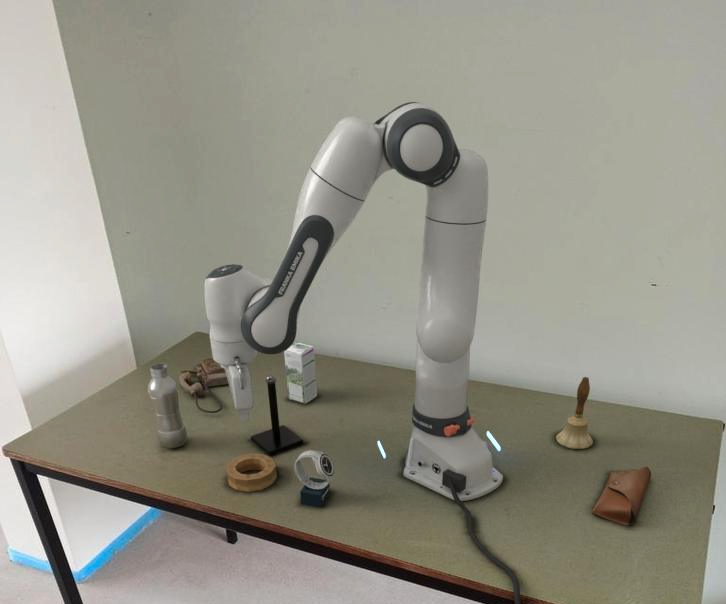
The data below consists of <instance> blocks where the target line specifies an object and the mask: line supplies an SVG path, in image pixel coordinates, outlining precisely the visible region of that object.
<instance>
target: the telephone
mask: <svg viewBox="0 0 726 604" xmlns="http://www.w3.org/2000/svg"><path fill="white" fill-rule="evenodd" d="M195 366H196V369H187V368H186V369H184V370H180V375H179V378H178V380H179V383H180V386H181V387H182V388H183V389H184V390H185V391H186V392H187V393H190V395H192V396H193V397H194V399H195V406H196V408H197V409H198V410H200V411H201V412H203V413H207V414H216V413H219V412H221V411H222V409H223V404H222V402H221V401H220V400H219V399H218V397H216V395H215V394H214V393H213V392H212V391H211V389H210V388H209V387H216V386H224V385H229V383H228V379H227V376H226V372H225V369H224V368H222V367H221V366H220V363H217V362H216V361H214V360H213V357H212V358H211V357H210V358H206V359H204V360H203V359H202V360H201V361H200V363H197V364H196V365H195ZM191 375H196V376H197V378H198V379H199V380H200V381H201V383H200V382H199V381H198V382H195V383H193V384H192V376H191ZM205 390H207V391H208V393H209V394H210V395H211V396H212V397H213V398H214V400H215V401H216V402H217V403H218V404H219V406H220V407H219V408H218V409H217V410H206V409H204V408H201V406H200V405H199V400H198V397H201V396H203V395H204V392H205Z"/></svg>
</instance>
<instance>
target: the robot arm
mask: <svg viewBox="0 0 726 604" xmlns="http://www.w3.org/2000/svg"><path fill="white" fill-rule="evenodd" d="M392 170H394V171H396V172H397V173H398V174H399V175H400V176H402V177H404V178H406V179H407V180H410V181H413V182H416V183H419V184H421V185H425V188H426V189H425V190H426V206H425V215H424V228H423V239H422V240H423V241H422V252H421V264H420V266H421V267H420V278H419V288H418V289H419V290H418V303H417V312H416V313H417V316H416V325H415V331H416V332H415V334H416V355H415V373H414V374H415V376H414V380H415V381H414V402H413V404H412V409H411V422H412V425H413V426H412V430H411V435H410V439H409V444H408V451H407V454H406V457H405V463H404V464H405V466H404V469H403V474H402V476H403V477H405V478H406V479H408V480H411V481H413V482H415V483H416V484H419V485H421V486H423V487H425V488H427V489H430V490H432V491H433V492H435V493H438V494H440V495H442V496H444V497H446V498H449V499H450V500H452V501H454V502H455V503H456V504H457V506H458V507H459V508H460V509H461V510H462V511H463V512H464V514H465V515H466V518H467V522H468V525H467V526H468V528H467V530H468V533H469V535H470V538H471V540H472V541H473V543H474V544H475V545H476V547H477V548H478V549H479V550H480V551H481V553H483V555H485V556H486V557H487V559H489V561H491V562H492V563H494V565H496V567H497V566H498V568H500V569H502V571H504V572H505V573H506V574H507V575H508V576H509V578H510V579H511V582H512V584H513V599H514V604H521V603H522V601H521V587H520V581H519V579H518V577H517V575H516V574H515V573H514V571H513V570H512V569H511V568H510V567H509V566H508V565H507V564H505V563H504V562H503V561H501V560H500V559H498V558H497V557H496V556H495V555H493V553H492V552H490V551H489V550H488V548H487V547H486V546H485V545H484V544H483V543H482V542H481V541H480V539H479V538H478V536H477V535H476V532H475V529H474V517H473V515H472V513H471V511H470V510H469V508H467V506H466V505H465V504H464V503H463V502H464V501H465V502H466V501H470V500H475V499H478V498H481V497H483V496H486V495H487V494H489V493H491V492H493V491H494V490H497V488H499V487H500V486H501V484H502V483H503V480H504V475H503V474H502V473H501V472H500V471H499V470H497V469H496V468H495V467H494V465H493V464H494V463H493V457H492V456H493V455H492V453H491V451H490V450H489V446H488V443H487V441H486V440H482V439H481V438H480V436H479V434H478V433H477V432H476V430H475V429H474V428H473V424H475V423H476V421H475V420H476V419H477V418H476V417H471V413H470V409H469V406H468V396H469V395H468V394H469V381H470V363H471V362H470V361H471V360H470V359H471V346H472V343H473V340H474V337H475V331H476V321H477V312H478V301H479V291H480V279H481V267H482V257H483V251H484V250H483V249H484V241H485V233H486V225H487V217H488V209H489V172H488V171H489V170H488V165H487V162H486V160H485V159H484V157H482V155H480V153H477V152H476V151H473V150H471V149H466V148H465V149H464V148H458V145H457V143H456V140H455V138H454V136H453V132H452V130H451V128H450V126H449V124H448V123H447V121H446V120H445V118H444V117H443V116H442V114H441V113H440V112H439V111H438V110H437V109H436V108H434V107H433V106H431V105H429V104H426V103H422V102H417V101H411V102H410V101H409V102H405V103H402V104H400V105H398V106H397V107H395V108H393V109H392V110H391V111H389V112H388V113H386V114H385V115H383V116H382V117H380V118H379V119H377V120H376V121H375V122H372V121H371V120H369V119H367V118H364V117H361V116H358V115H357V116H356V115H349V116H346V117H343V118H342V119H340V120H339V121H338V122H337V123H336V125H335V126H334V127H333V128H332V129H331V132H330V133H329V134H328V136H327V137H326V139H325V140H324V142H323V143H322V145H321V147H320V148H319V150H318V152H317V154H316V155H315V157H314V159H313V161H312V163H311V165H310V167H309V169H308V171H307V173H306V176H305V178H304V180H303V182H302V185H301V189H300V193H299V196H298V199H297V204H296V207H295V213H294V214H295V215H294V220H293V226H292V231H291V236H290V238H289V239H290V240H289V244H288V246H287V249H286V252H285V253H284V256H283V258H282V259H281V263H280V264H279V266H278V268H277V270H276V272H275V275H274V277H273V278H272V279H271V278H267V277H263V276H260V275H258V274H256V273H254V272H252V271H250V270H249V269H248V268H246V267H245V266H243V265H241V264H235V263H234V264H225V265H222V266H218V267H217V268H214V269H212V271H210V272H209V273H208V275H207V276H206V278H205V280H204V287H203V289H204V290H203V291H204V293H203V294H204V304H205V305H204V306H205V314H206V317H207V319H208V322H209V342H210V348H211V356H212V358H213V360H214V361H216V362H217V363H220V366H221V367H222V368H224V369H225V372H226V376H227V379H228V383H229V384H228V386H229V390H230V394H231V398H232V401H233V405H234V409H235V410H236V411H238V417H239V421H240V422H241V423H244V422H249V420H250V417H249V411H250V410H252V409H253V408H254V404H255V403H254V394H253V387H252V380H251V379H252V378H251V374H250V371H249V368H248V367H250V366H251V365H252V361H253V360H255V359H256V358H257V355H258V353H261V354H264V355H277V354H281V353H284V351H285V350H287V349H288V348H289V347H290V346H291V345H292V344H293V343H295V340H296V337H297V330H298V329H297V328H298V320H299V315H300V311H301V310H300V309H301V306H302V304H303V302H304V299H305V297H306V296H307V293H308V291H309V289H310V287H311V286H312V283H313V282H314V279H315V277H316V275H317V274H318V272H319V270H320V268H321V266H322V264H323V262H324V261H325V260H326V258H327V257H328V255H329V254H330V252H331V251H332V250H333V249H334V247H335V246H336V244H337V243H338V241H340V239H341V238H342V237H343V235H344V234H345V233H346V231H347V230H348V229H349V227H350V226H351V225H352V223H353V222H354V220H356V219H355V218H356V217H357V216H358V214H359V213H360V211H361V209H362V207H363V206H364V204H365V202H366V200H367V198H368V196H369V194H370V192H371V190H372V189H373V186H374V185H375V183H376V182H377V180H378V179H379V178H380V177H381V176H382V175H383V174H385V173H386V172H389V171H392ZM486 436H487V437H488V439H489V440H490V441H491V443H492V444H493V445H494V447H495V448H496V450H497V451H498V452H500V451H501V446H500V445H499V443H498V442H497V440H496V439H495V437H493V435H492V433H490V431H489V430H488V431H487V432H486ZM377 446H378V448H379V451H380V453H381V455H382V457H383V459H386V453H385V451H384V448H383V446H382V444H381V442H380V440H378V441H377Z"/></svg>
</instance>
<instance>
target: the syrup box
mask: <svg viewBox="0 0 726 604" xmlns="http://www.w3.org/2000/svg"><path fill="white" fill-rule="evenodd" d="M283 354H284V355H283V356H284V365H285V375H286V386H287V387H286V388H287V397H288V400H290V401H294V402H297V403H300V404H304V405H306V404H307V403H309V402H311V401H312V400H314V399H315V398H316V397H318V390H317V377H316V360H315V357H316V356H315V348H314V345H311V344H310V345H309V344H305V343H302V342H298V341H297V342H293V344H292V345H291V346H290V347H289V348H288V349H287V350H285V351H284V352H283Z"/></svg>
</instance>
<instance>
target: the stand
mask: <svg viewBox="0 0 726 604" xmlns="http://www.w3.org/2000/svg"><path fill="white" fill-rule="evenodd" d="M265 382H266V385H267V394H268V395H267V396H268V405H269V413H270V423H271V429H268V430H265V431H262V432H258V433H256V434H253V435H250V441H251V442H252V443H254V444H255V445H256V446H257V447H258V448H260V450H262V451H263V452H264V453H265V454H266V455H267V456H268V457H271V456H275V455H277V454H280V453H282V452H286V451H287V450H291V449H294V448H296V447H299V446H301V445H304V440H303V438H301V437H300V436H299V435H297V434H296V433H295V432H293V431H292V430H291V429H290V428H289V427H287V426H286V425H284V424H282V425H280V417H279V408H278V407H279V406H278V396H277V386H276V382H277V379H276V376H275V375H273V374H269V375H267V376H266V378H265Z"/></svg>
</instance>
